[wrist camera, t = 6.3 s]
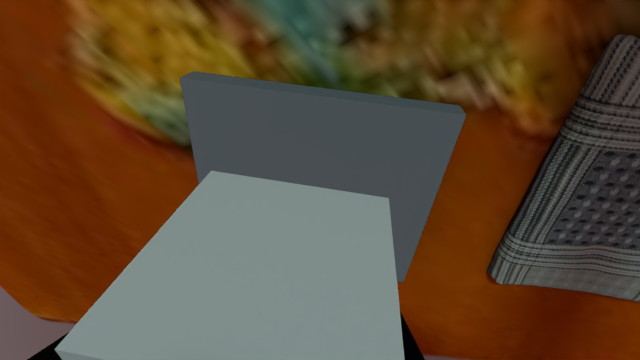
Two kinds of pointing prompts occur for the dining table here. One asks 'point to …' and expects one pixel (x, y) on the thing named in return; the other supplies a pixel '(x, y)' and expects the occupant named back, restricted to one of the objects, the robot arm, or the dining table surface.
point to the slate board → (326, 143)
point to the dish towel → (585, 192)
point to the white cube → (254, 280)
